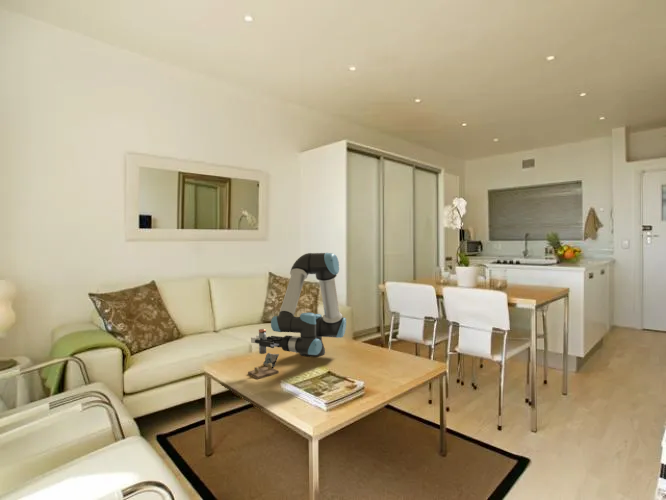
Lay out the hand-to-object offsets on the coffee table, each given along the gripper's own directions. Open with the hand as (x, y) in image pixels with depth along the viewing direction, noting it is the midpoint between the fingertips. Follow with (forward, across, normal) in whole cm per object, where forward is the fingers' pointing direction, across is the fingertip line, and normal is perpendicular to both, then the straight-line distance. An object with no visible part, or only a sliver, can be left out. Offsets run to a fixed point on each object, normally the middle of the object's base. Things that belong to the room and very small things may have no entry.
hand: (254, 339), depth 195 cm
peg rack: (-5, 0, -17) cm, 18 cm away
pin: (-5, 0, -7) cm, 9 cm away
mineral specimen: (-1, +13, -18) cm, 22 cm away
